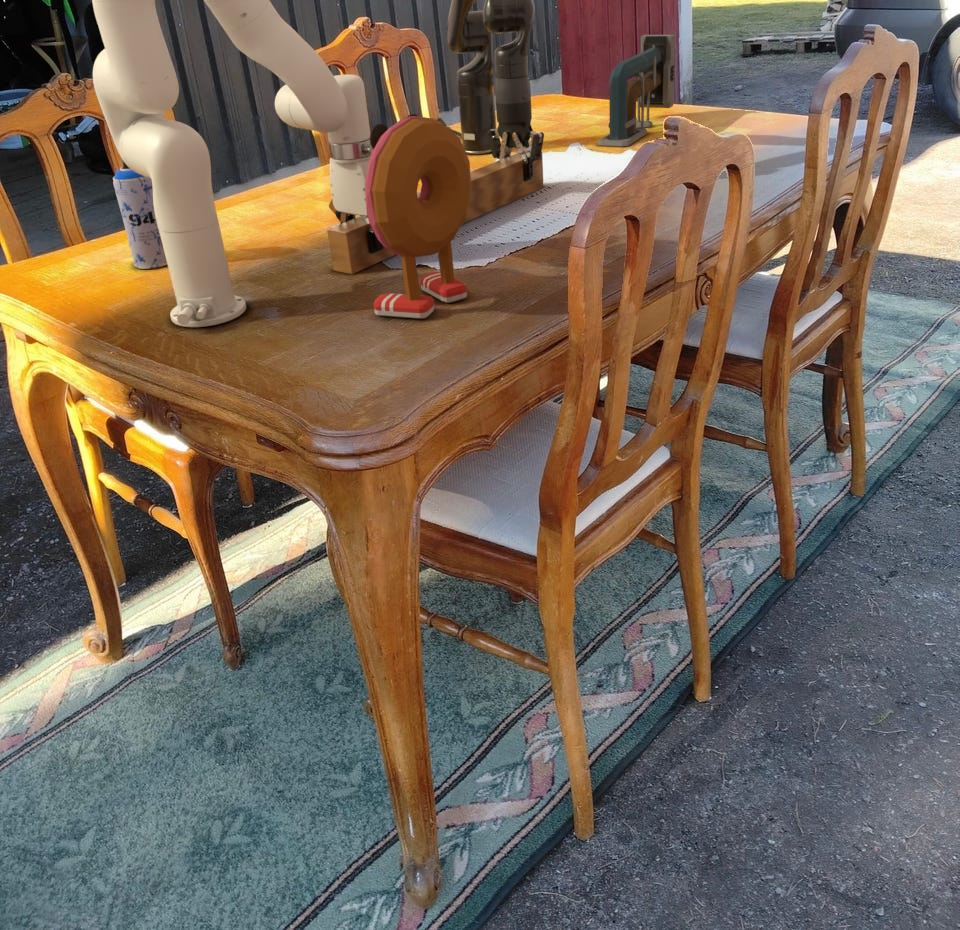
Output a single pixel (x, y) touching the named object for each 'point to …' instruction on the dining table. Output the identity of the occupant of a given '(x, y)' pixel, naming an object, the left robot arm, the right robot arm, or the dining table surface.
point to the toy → (418, 207)
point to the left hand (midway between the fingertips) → (364, 248)
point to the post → (487, 194)
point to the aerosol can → (139, 218)
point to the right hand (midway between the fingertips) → (517, 178)
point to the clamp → (640, 89)
